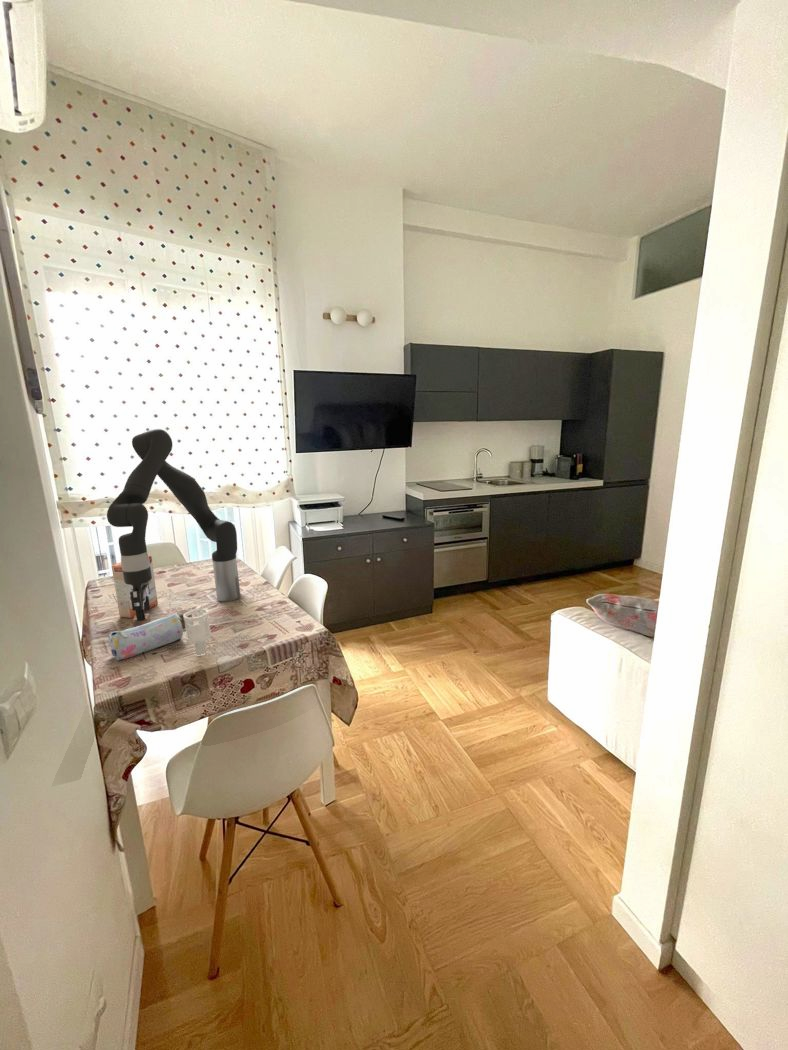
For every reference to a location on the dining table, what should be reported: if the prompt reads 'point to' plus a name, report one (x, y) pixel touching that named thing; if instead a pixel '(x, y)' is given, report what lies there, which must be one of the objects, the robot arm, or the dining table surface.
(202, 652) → the strainer
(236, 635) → the dining table surface
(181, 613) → the two-dot block
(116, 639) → the pencil case
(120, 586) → the cracker box
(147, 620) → the three-dot block
